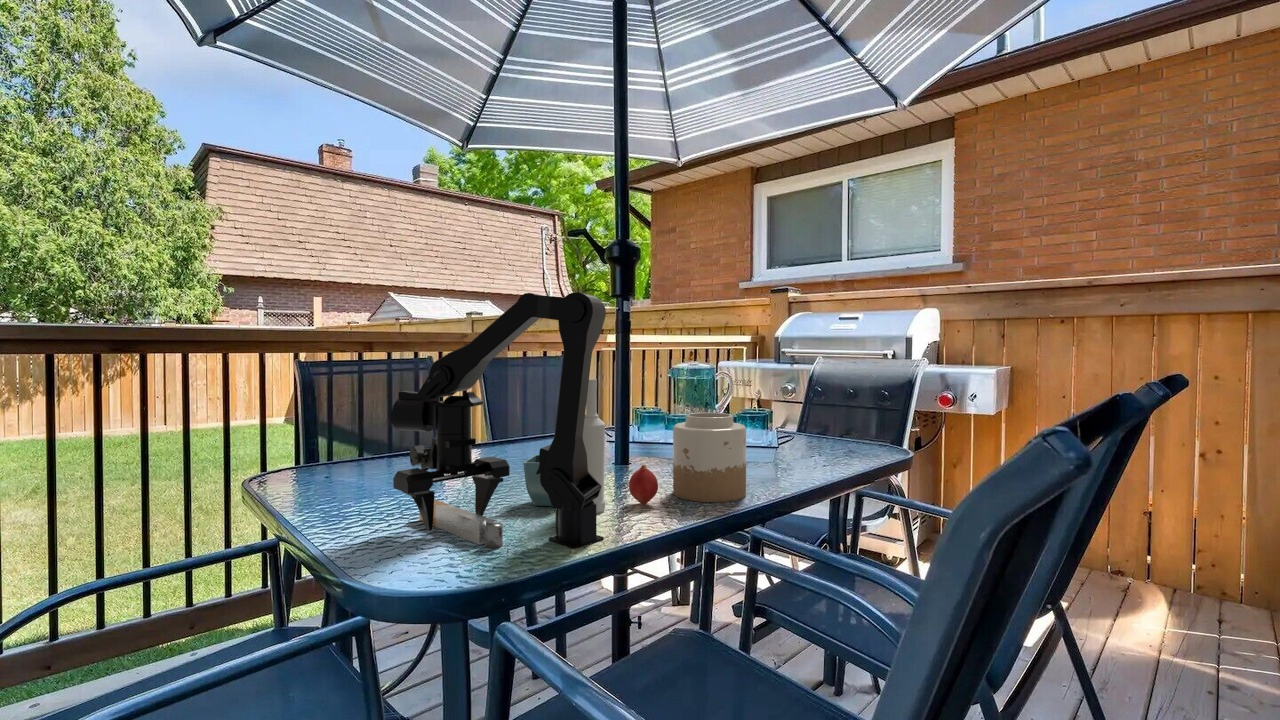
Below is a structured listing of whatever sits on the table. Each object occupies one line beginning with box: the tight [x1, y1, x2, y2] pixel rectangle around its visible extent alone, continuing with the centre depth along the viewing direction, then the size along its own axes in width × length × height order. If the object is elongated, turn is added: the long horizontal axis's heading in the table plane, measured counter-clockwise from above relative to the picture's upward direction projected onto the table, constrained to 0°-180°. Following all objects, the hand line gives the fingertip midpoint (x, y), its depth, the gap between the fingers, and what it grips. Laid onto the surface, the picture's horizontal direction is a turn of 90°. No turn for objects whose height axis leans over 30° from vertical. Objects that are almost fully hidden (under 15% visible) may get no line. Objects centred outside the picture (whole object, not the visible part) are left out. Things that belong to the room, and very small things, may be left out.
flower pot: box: [523, 454, 552, 507], centre depth 123 cm, size 9×9×9 cm
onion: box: [628, 464, 659, 506], centre depth 122 cm, size 6×6×8 cm
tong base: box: [434, 498, 504, 550], centre depth 104 cm, size 23×3×4 cm, turn 46°
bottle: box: [583, 378, 606, 515], centre depth 117 cm, size 5×5×25 cm
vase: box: [672, 412, 747, 503], centre depth 131 cm, size 15×15×17 cm
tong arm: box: [418, 502, 486, 546], centre depth 104 cm, size 20×1×4 cm, turn 46°
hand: (454, 524), depth 105 cm, fingers open, 9 cm apart
